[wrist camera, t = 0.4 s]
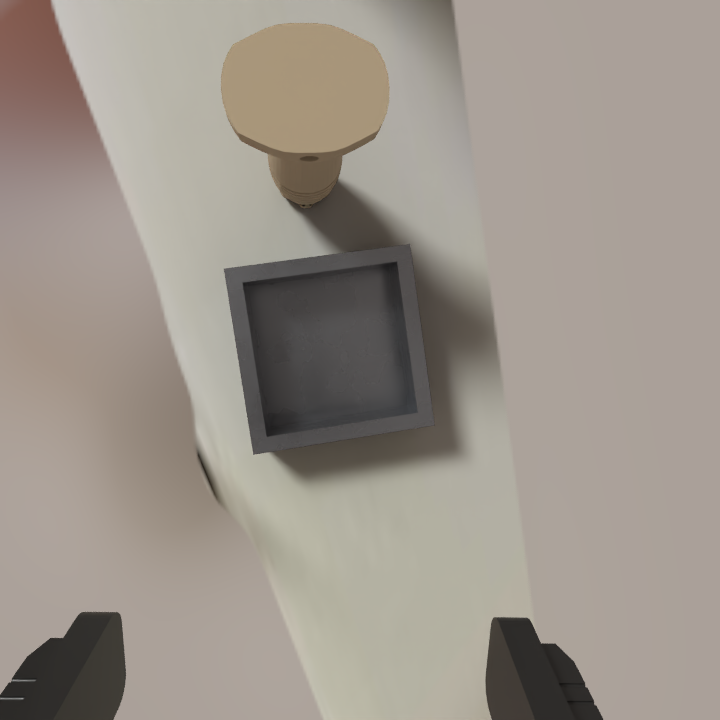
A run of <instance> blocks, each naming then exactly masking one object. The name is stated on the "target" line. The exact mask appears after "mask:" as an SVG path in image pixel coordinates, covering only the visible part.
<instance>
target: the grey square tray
mask: <svg viewBox="0 0 720 720" xmlns="http://www.w3.org/2000/svg"><path fill="white" fill-rule="evenodd" d="M224 272H225V278H226V284H227V291H228V297H229V303H230V310H231V316H232V322H233V329H234V335H235V341H236V348H237V354H238V360H239V366H240V373H241V379H242V385H243V392H244V398H245V404H246V411H247V417H248V423H249V430H250V436H251V442H252V448H253V455H254V454H260V453H266V452H272V451H279V450H285V449H291V448H297V447H303V446H309V445H316V444H322V443H328V442H334V441H340V440H346V439H353V438H359V437H365V436H371V435H377V434H383V433H390V432H396V431H402V430H408V429H414V428H420V427H427V426H433V425H434V417H433V410H432V402H431V395H430V388H429V380H428V373H427V366H426V358H425V351H424V344H423V336H422V329H421V321H420V314H419V307H418V299H417V292H416V285H415V277H414V270H413V263H412V255H411V248H410V244H407V245H399V246H392V247H384V248H377V249H369V250H362V251H354V252H347V253H339V254H332V255H324V256H317V257H309V258H302V259H294V260H287V261H279V262H272V263H264V264H257V265H249V266H242V267H234V268H227V269H224Z"/></svg>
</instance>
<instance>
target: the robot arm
mask: <svg viewBox="0 0 720 720" xmlns="http://www.w3.org/2000/svg"><path fill="white" fill-rule="evenodd" d="M125 679H126V669H125V656H124V644H123V632H122V621H121V616H120V614H119V613H118V612H82V613H80V614H79V615H78V616H77V618H76V619H75V621H74V622H73V624H72V625H71V627H70V629H69V630H68V631H67V633H66V635H65V636H64V638H50V639H49V640H48V641H46V642H45V643H44V644H42V645H41V646H40V647H39V648H37V649H36V650H35V651H34V652H33V653H31V654H30V655H29V656H27V658H26V659H25V661H24V662H23V663H22V665H21V666H20V668H19V669H18V670H17V672H16V673H15V675H14V676H13V678H12V681H11V683H8V685H7V686H6V687H5V689H4V690H3V692H2V693H1V695H0V720H113V719H114V717H115V715H116V712H117V710H118V708H119V706H120V703H121V700H122V696H123V692H124V687H125ZM486 695H487V702H488V707H489V711H490V715H491V718H492V720H603V718H602V716H601V714H600V712H599V710H598V708H597V706H595V705H594V700H593V698H592V696H591V694H590V692H589V690H588V688H586V687H585V682H584V681H583V678H582V676H581V674H580V672H579V670H578V669H577V667H576V665H575V663H574V661H573V660H571V658H569V657H568V656H567V655H566V654H565V653H564V652H563V651H562V650H561V649H560V648H559V647H558V646H557V645H556V644H541V643H540V640H539V638H538V636H537V634H536V632H535V629H534V627H533V625H532V623H531V621H530V620H529V619H528V618H505V617H494V618H493V620H492V623H491V630H490V640H489V649H488V659H487V668H486Z"/></svg>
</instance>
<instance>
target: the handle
mask: <svg viewBox="0 0 720 720" xmlns="http://www.w3.org/2000/svg"><path fill="white" fill-rule="evenodd" d="M221 92H222V99H223V104H224V108H225V111H226V114H227V117H228V120H229V122H230V124H231V126H232V128H233V130H234V132H235V133H236V134H237V136H238V137H239V139H240V140H241V141H242V142H244V143H246V144H248V145H250V146H252V147H254V148H256V149H258V150H260V151H262V152H265V153H267V154H268V161H269V167H270V172H271V175H272V178H273V180H274V182H275V184H276V186H277V187H278V189H279V190H280V192H281V194H282V196H283V197H284V198H288V199H289V200H291V201H293V202H295V203H298V204H299V205H300V207H302V208H310V207H312V205H313V204H314V203H316V202H319V201H320V200H322V199H323V198H325V197H327V196H328V195H329V193H330V191H331V190H332V189H333V187H334V185H335V183H336V182H337V180H338V177H339V174H340V170H341V165H342V155H345V154H347V153H349V152H351V151H353V150H355V149H357V148H359V147H361V146H363V145H365V144H366V143H368V142H370V141H371V140H373V139H374V138H375V137H376V135H377V133H378V132H379V130H380V128H381V125H382V123H383V121H384V118H385V116H386V113H387V109H388V104H389V80H388V73H387V70H386V66H385V62H384V60H383V59H382V57H381V55H380V53H379V51H378V50H377V48H376V47H375V46H374V44H372V43H370V42H368V41H366V40H364V39H362V38H360V37H358V36H356V35H354V34H352V33H349V32H347V31H345V30H343V29H341V28H338V27H335V26H332V25H327V24H318V23H288V24H278V25H274V26H271V27H268V28H265V29H263V30H261V31H259V32H257V33H255V34H253V35H251V36H249V37H247V38H245V39H243V40H241V41H239V42H237V43H235V44H233V45H232V47H231V49H230V50H229V52H228V54H227V56H226V59H225V61H224V64H223V69H222V75H221Z"/></svg>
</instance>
